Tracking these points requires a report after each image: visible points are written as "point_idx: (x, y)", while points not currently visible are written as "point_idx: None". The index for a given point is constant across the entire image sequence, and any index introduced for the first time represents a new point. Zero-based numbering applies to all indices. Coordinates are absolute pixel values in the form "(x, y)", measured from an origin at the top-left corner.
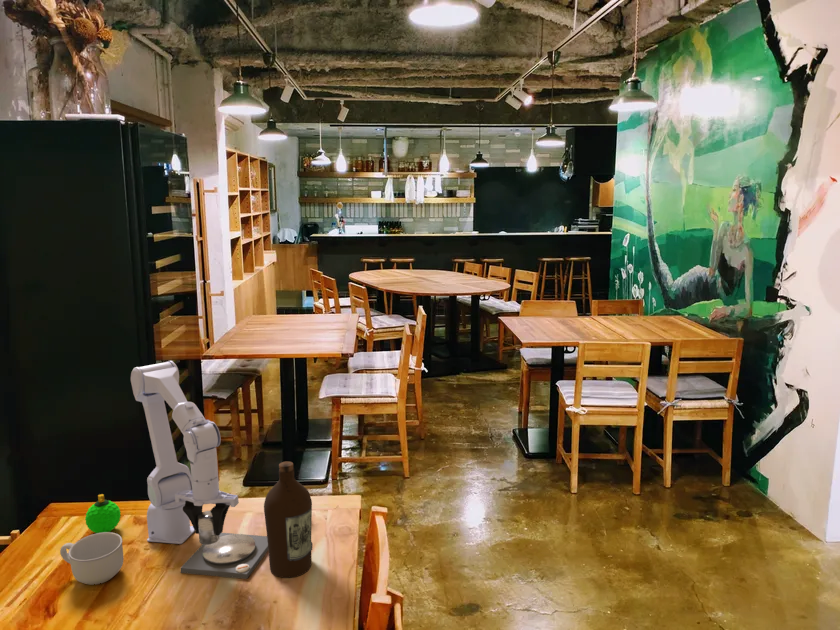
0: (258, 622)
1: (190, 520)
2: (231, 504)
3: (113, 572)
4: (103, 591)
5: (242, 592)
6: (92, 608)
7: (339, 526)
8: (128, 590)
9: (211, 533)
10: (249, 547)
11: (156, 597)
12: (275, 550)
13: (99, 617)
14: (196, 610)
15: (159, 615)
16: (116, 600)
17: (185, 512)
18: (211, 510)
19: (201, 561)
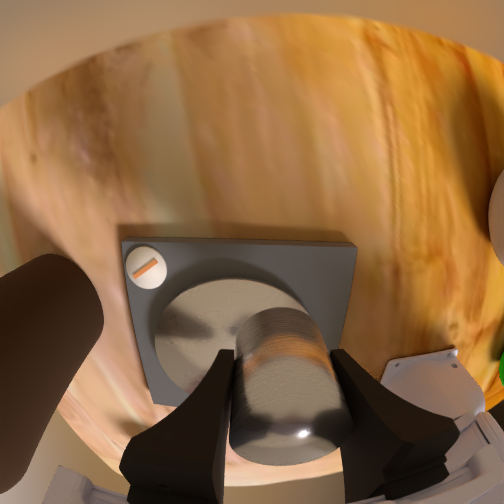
0: (45, 79)
1: (386, 389)
2: (71, 485)
3: (498, 190)
4: (484, 150)
5: (111, 171)
6: (471, 87)
7: (77, 420)
8: (445, 150)
9: (249, 348)
10: (171, 357)
11: (364, 114)
12: (14, 286)
13: (441, 50)
14: (207, 65)
15: (308, 37)
16: (448, 109)
17: (433, 416)
18: (202, 472)
19: (303, 290)
